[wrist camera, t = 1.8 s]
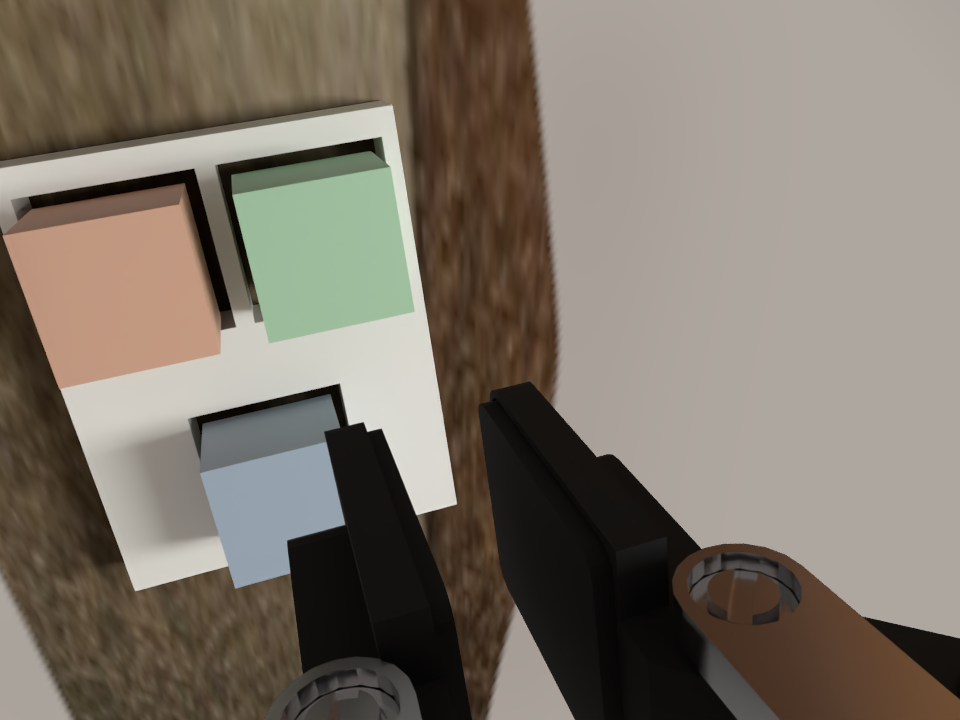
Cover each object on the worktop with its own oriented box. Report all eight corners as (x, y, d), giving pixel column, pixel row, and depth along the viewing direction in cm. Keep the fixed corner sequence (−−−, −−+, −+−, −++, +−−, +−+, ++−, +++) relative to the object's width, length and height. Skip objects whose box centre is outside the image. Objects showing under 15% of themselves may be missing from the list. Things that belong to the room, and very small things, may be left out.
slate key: (202, 423, 28) (199, 472, 25) (330, 394, 29) (343, 437, 26) (233, 529, 30) (235, 588, 27) (353, 498, 31) (368, 551, 27)
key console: (-3, 161, 25) (-21, 171, 23) (381, 100, 27) (392, 105, 26) (140, 559, 31) (135, 591, 29) (444, 479, 34) (456, 504, 32)
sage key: (231, 174, 25) (232, 194, 22) (370, 150, 26) (390, 166, 23) (263, 307, 27) (269, 343, 24) (393, 280, 28) (414, 311, 25)
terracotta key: (31, 209, 24) (2, 235, 21) (184, 182, 25) (179, 204, 22) (79, 346, 26) (59, 389, 23) (220, 316, 27) (220, 354, 24)
